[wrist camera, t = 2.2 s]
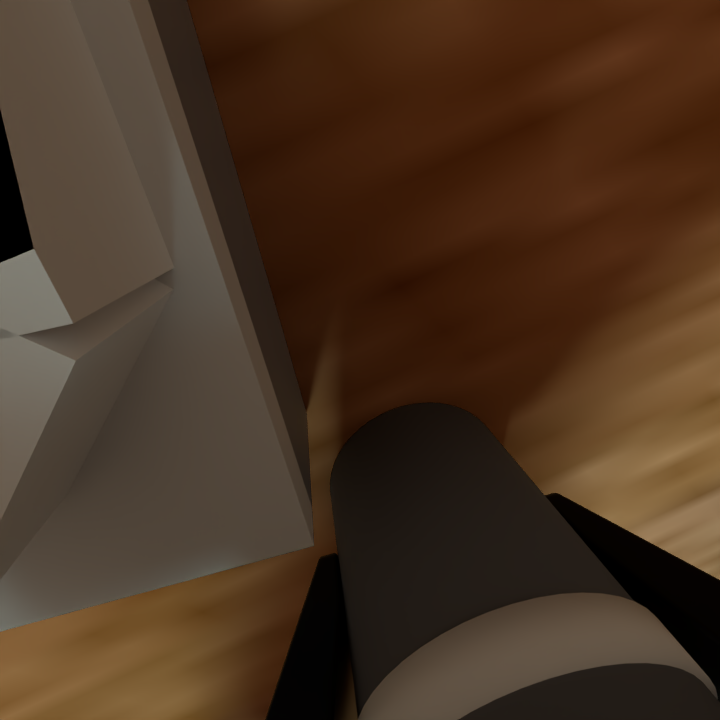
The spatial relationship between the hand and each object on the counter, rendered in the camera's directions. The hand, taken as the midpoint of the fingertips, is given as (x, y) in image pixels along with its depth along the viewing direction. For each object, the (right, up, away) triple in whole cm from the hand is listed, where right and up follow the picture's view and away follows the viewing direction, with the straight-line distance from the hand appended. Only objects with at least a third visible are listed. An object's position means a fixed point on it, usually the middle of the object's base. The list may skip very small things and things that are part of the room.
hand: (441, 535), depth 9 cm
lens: (0, +1, +2) cm, 2 cm away
